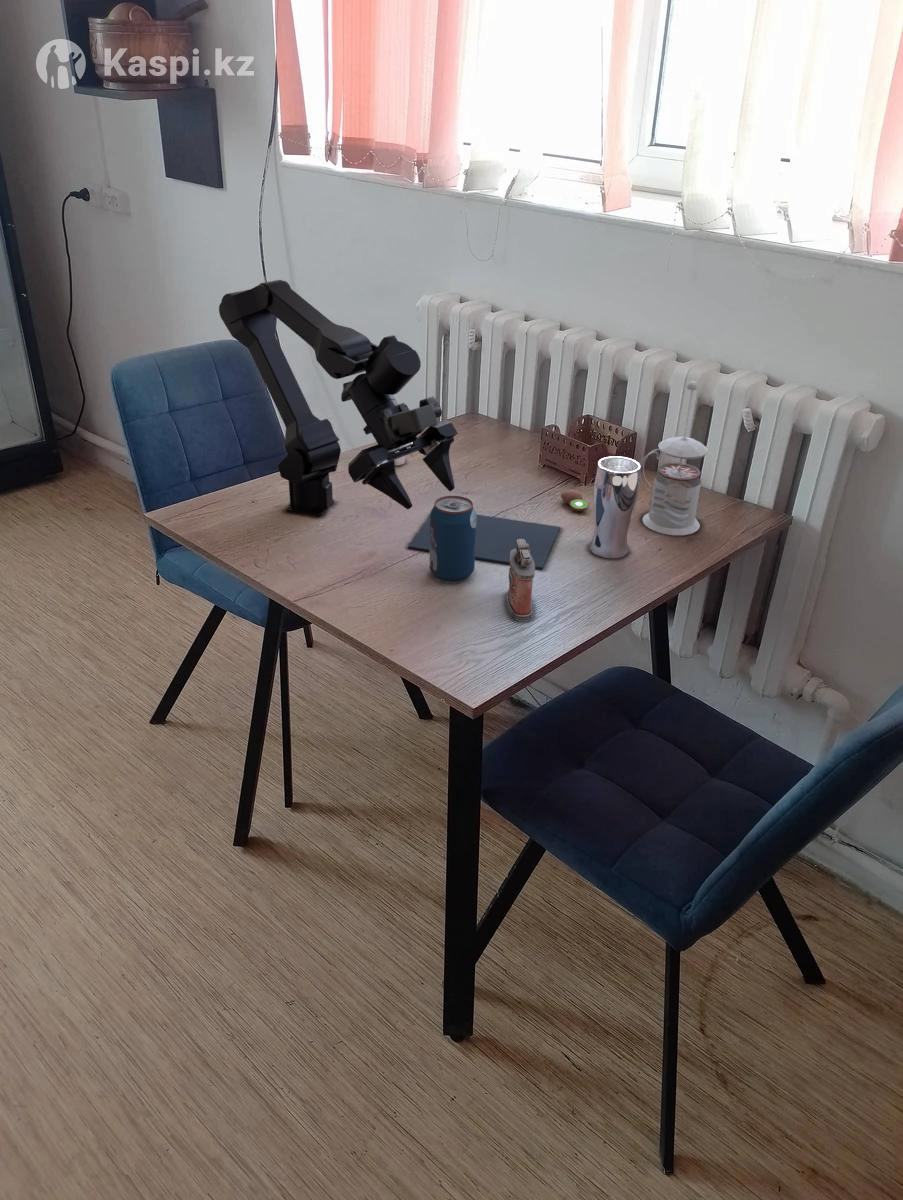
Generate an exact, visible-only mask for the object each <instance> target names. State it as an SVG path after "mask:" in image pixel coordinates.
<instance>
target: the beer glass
mask: <svg viewBox="0 0 903 1200" xmlns="http://www.w3.org/2000/svg"><path fill="white" fill-rule="evenodd" d="M640 472H641V471H640V462H638V461H636V460H635V459H632V458H630V457H626V456H606V457H602V458H600V459H599V460H598V461H597V467H596V471H595V477H594V483H593V492H592V494H593V495H592V496H593V499H592V501H593V515H594V532H593V535H592V538H591V542H590V545H589V550H590V552H591V553H592V554H594V555H595V556H598V557H600V558H603V559H610V560H611V559H620V558H623V557H625V556H626V555H627V554H628V552H629V547H628V532H629V527H630V524H631V521H632V518H633V516H634V515H633V514H634V511H635V509H636V507H637V506H636V505H637V502H638V497H639V492H640V491H639V490H640V482H641V480H640Z"/></svg>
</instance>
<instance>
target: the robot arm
mask: <svg viewBox="0 0 903 1200" xmlns="http://www.w3.org/2000/svg"><path fill="white" fill-rule="evenodd" d="M218 313H219V317H220V319H221V321H222V322H223V324H224V325H225V327H226V329H227V331H228V332H229V334H230V336H231V337H232V338H234V339H235V340H236V341H238V342H239V343H240V344H242V345H243V346H244V347H246V348H247V350H248V351H249V353H250V355H251V357H252V359H253V361H254V364H255V366H256V367H257V369H258V371H259V372H258V373H260V377H261V379H262V380H263V382H264V385H265V386H266V388H267V390H268V392H269V395H270V397H271V399H272V401H273V403H274V405H275V407H276V410H277V411H278V414H279V416H280V418H281V420H282V422H283V425H284V427H285V434H284V448H285V451H286V454H287V455H285V457H284V458H283V459H282V461H280V462H279V464H278V465H277V468H278V472H279V474H280V475H279V476H280V477H281V479H284V480H286V481H288V492H289V493H288V494H289V505H288V506H287V507H286V508H285V511H286V512H288V513H293V514H300V515H307V516H314V517H321V516H323V515H324V514H325V513H326V512H327V511H328V509H329V508H330V507H331V506H332V505H333V504H334V503H335V500H334V497H333V483H332V482H331V481H330V473H334V472H336V471H337V469H338V464H339V460H340V457H341V453H342V449H341V446H340V443H339V441H340V438H339V437H338V436H337V434H336V433H335V430H334V428H333V425H332V423H331V421H330V420H329V419H328V418H324V419H320V418H319V417H317V416H315V415H314V414H313V411H312V410H311V407H310V405H309V404H308V401H307V400H306V397H305V395H304V393H303V391H302V388H301V387H300V384H299V383H298V380H297V378H296V376H295V374H294V372H293V370H292V368H291V365H290V364H289V361H288V359H287V357H286V355H285V353H284V351H283V349H282V347H281V344H280V342H279V341H278V338H277V334H276V333H277V332H276V331H277V322H278V320H279V321H280V322H281V323H283V325H285V326H286V327H288V328H289V329H290V330H291V331H292V332H293V333H295V334H296V335H297V336H298V337H299V338H300V339H302V340H303V341H304V342H305V343H306V344H308V345H309V346H310V347H311V348H312V350H314V355H315V359H316V362H317V363H318V364H319V365H320V367H321V368H322V369H323V370H324V371H325V372H326V373H327V375H329V376H330V377H331V378H332V379H336V380H340V379H343V378H347V377H351V376H354V375H356V376H355V378H353V379H352V380H350V381H347V382H343V384H342V392H341V395H340V400H341V402H343V403H345V402H349V401H352V403H353V404H354V406H355V407H356V409H357V411H358V412H359V415H360V417H361V418H362V420H363V421H364V423H365V427H363V428H362V431H363V432H364V433H365V435H366V436H367V435H369V434H371V435H372V437H373V438H374V440H375V442H376V444H375V445H372V446H369V447H367V448H364V449H362V450H360V452H359V453H357V455H355V457H354V458H353V459H352V460H350V462H349V463H348V466H347V469H348V475H349V477H350V478H351V480H352V482H353V483H358V482H360V481H361V484H362V485H363V486H366V485H368V486H370V487H372V488H374V489H376V490H377V491H379V492H381V493H383V494H384V495H385V496H387V497H389V498H390V499H391V500H393V501H395V502H396V503H397V504H398V505H400V506H402V507H403V508H405V509H406V510H410V509H411V508H412V507H413V504H412V500H411V498H410V496H409V495H408V493H407V491H406V489H405V487H404V485H403V484H402V482H401V480H400V479H399V477H398V475H397V473H396V465H395V462H394V460H395V459H397V458H400V457H403V456H405V457H406V456H408V455H410V454H413V453H416V452H418V453H419V454H420V455H421V454H422V455H423V456H425V457H423V458H422V461H423V463H424V464H425V465H426V466H427V467H428V468H429V470H430V471H431V472H432V474H434V476H435V477H436V478H437V480H439V482H440V483H441V484H442V485H443V486H444V487H445V488H446V489H447V490H448V491H449V492H452V491H453V490H454V489H455V488H456V487H455V482H454V477H453V472H452V467H451V461H450V460H451V459H450V449H451V445H452V444H453V443H454V442H455V436H457V435H458V434H459V433H458V431H457V430H456V427H455V426H454V424H453V423H452V421H449V420H442V421H440V422H439V421H438V418H440V417H442V415H443V411H442V408H441V407H442V406H441V404H440V403H439V401H438V400H437V399H436V398H435V396H434V395H433V396H430V397H426V398H423V399H421V400H419V403H418V404H419V405H418V407H415V408H413V409H410V408H409V406H408V405H407V404H406V403H405V402H402V403H398V401H397V399H396V398H395V397H394V396H395V395H397V394H399V392H400V391H401V390H402V389H403V388H404V387H405V386H406V385H407V384H408V383H410V381H411V380H412V379H413V378H414V377H415V376H416V375H417V374H418V372H419V371H420V370H421V365H422V364H421V363H422V362H421V358H420V356H419V353H418V352H417V351H416V350H415V349H413V348H412V347H411V346H410V345H409V344H407V343H405V342H403V341H399V340H398V339H397V336H396V335H395V334H392V335H388V336H384V337H383V338H382V339H381V341H380V342H379V344H378V345H377V344H375V343H373V342H371V340H370V338H368V336H366V335H365V334H363V333H361V332H359V331H357V330H356V329H354V328H352V327H348V326H344V325H339V324H337V323H335V322H333V321H331V320H330V319H329V318H328V317H326V316H325V314H323V313H321V312H320V311H319V310H318V309H317V308H315V307H314V306H313V305H312V304H311V303H309V301H307V300H306V299H304V298H303V297H302V296H301V295H300V294H298V293H297V292H296V291H295V290H294V289H292V287H291V284H289V283H288V281H286V280H282V279H275V280H271V281H265V282H260V283H259V284H258V285H256V286H254V287H252V288H250V289H245V290H239V291H234V292H229V293H225V294H224V295H223V296H222V298H221V301H220V303H219V306H218ZM357 374H358V375H357ZM418 435H419V436H418ZM397 451H399V452H397ZM395 452H397V453H395Z"/></svg>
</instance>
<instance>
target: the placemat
mask: <svg viewBox="0 0 903 1200" xmlns="http://www.w3.org/2000/svg"><path fill="white" fill-rule="evenodd" d="M560 529H561V527H560V526H558V525H557V526H556V525H549V524H542V523H536V522H530V521H523V520H517V519H509V518H502V517H496V516H489V515H483V514H477V518H476V543H475V560H481V561H485V562H493V563H498V564H504V565H510V551H511V550H512V549H516V547H517V540H518V539H524V540H525V542H526V544H529V550H530V555H531V556H532V558H533V560H534V564H535V570H543V569H544V567H545V564H546V562H547V559H548V557H549V555H550V552H551V550H552V548H553V546H554V543H555V541H556V538H557V537H558V534H559V532H560ZM408 549H410V550H417V551H424V552H428V553H430V516H429V517H428V519H427V520H426V521H425V523H424V524H423V525H422V526H421V528H420V529H419V531H418V532H417V534H416V536H415V537H414V538H413V539H412V541H411V542H410V544H409V545H408Z"/></svg>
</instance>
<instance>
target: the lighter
mask: <svg viewBox="0 0 903 1200" xmlns="http://www.w3.org/2000/svg"><path fill="white" fill-rule="evenodd" d="M535 573H536V569H535V564H534V560H533V558H532V556H531V555H530V550H529V544H526V542H525V540H524V539H518V540H517V547H516V549H512V550H511V551H510V564H509V568H508V582H509V583H508V584H509V585H508V590H507V595H506V606H507V609H508V612H509V614H510V615H511V616H512V618H513V619H514V620H515V621H518V622H526V621H529V620H531V619H532V613H533V604H532V594H533V583H534V582H533V580H534V578H535V576H536V575H535Z"/></svg>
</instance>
